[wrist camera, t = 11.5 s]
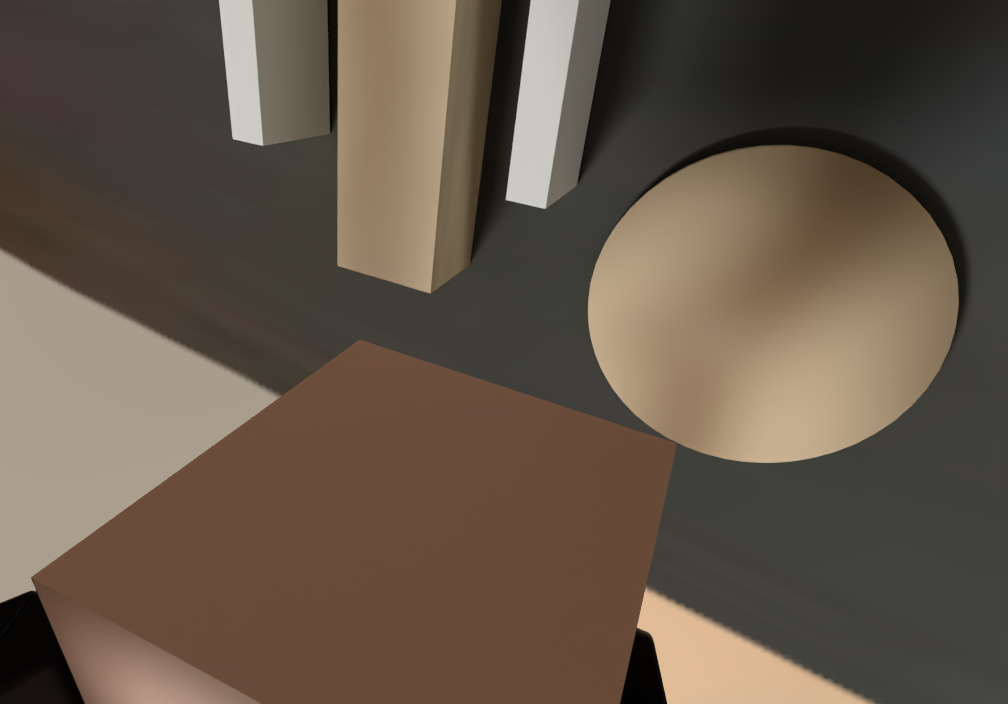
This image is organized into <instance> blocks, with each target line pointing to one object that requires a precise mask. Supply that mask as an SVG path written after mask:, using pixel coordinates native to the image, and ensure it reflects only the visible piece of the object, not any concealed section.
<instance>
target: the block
mask: <svg viewBox="0 0 1008 704" xmlns="http://www.w3.org/2000/svg"><path fill="white" fill-rule="evenodd" d="M676 446H677V444H676V443H673V442H670V441H667V440H664V439H661V438H658V437H655V436H652V435H649V434H645V433H642V432H639V431H636V430H633V429H630V428H627V427H624V426H621V425H618V424H615V423H612V422H609V421H606V420H603V419H600V418H597V417H594V416H591V415H588V414H584V413H581V412H578V411H575V410H572V409H569V408H566V407H563V406H560V405H557V404H554V403H551V402H548V401H545V400H542V399H539V398H536V397H533V396H530V395H527V394H524V393H520V392H517V391H514V390H511V389H508V388H505V387H502V386H499V385H496V384H493V383H490V382H487V381H484V380H481V379H478V378H475V377H472V376H469V375H466V374H463V373H459V372H456V371H453V370H450V369H447V368H444V367H441V366H438V365H435V364H432V363H429V362H426V361H423V360H420V359H417V358H414V357H411V356H408V355H405V354H402V353H399V352H395V351H392V350H389V349H386V348H383V347H380V346H377V345H374V344H371V343H368V342H365V341H362V340H359V341H357V342H356V343H355V344H353V345H352V346H351V347H349V348H348V349H346V350H345V351H344V352H342V353H341V354H339V355H338V356H337V357H335V358H334V359H333V360H331V361H330V362H328V363H327V364H326V365H324V366H323V367H321V368H320V369H319V370H317V371H316V372H315V373H313V374H312V375H310V376H309V377H308V378H306V379H305V380H303V381H302V382H301V383H299V384H298V385H297V386H295V387H294V388H292V389H291V390H290V391H288V392H287V393H286V394H284V395H283V396H281V397H280V398H279V399H277V400H276V401H274V402H273V403H272V404H270V405H269V406H268V407H266V408H265V409H264V410H262V411H261V412H259V413H258V414H257V415H255V416H254V417H252V418H251V419H250V420H248V421H247V422H245V423H244V424H243V425H241V426H240V427H239V428H237V429H236V430H234V431H233V432H232V433H231V434H229V435H227V436H226V437H225V438H223V439H222V440H221V441H219V442H218V443H216V444H215V445H214V446H212V447H211V448H209V449H208V450H207V451H205V452H204V453H203V454H201V455H200V456H198V457H197V458H196V459H194V460H193V461H191V462H190V463H189V464H188V465H186V466H185V467H183V468H182V469H181V470H179V471H178V472H177V473H175V474H173V475H172V476H171V477H169V478H168V479H167V480H165V481H164V482H162V483H161V484H160V485H158V486H157V487H156V488H154V489H153V490H151V491H150V492H149V493H147V494H146V495H144V496H143V497H142V498H140V499H139V500H138V501H136V502H135V503H134V504H132V505H131V506H129V507H128V508H127V509H125V510H124V511H122V512H121V513H120V514H118V515H117V516H115V517H114V518H113V519H112V520H110V521H109V522H107V523H106V524H104V525H103V526H102V527H100V528H99V529H97V530H96V531H95V532H93V533H92V534H91V535H89V536H88V537H86V538H85V539H84V540H82V541H81V542H80V543H78V544H77V545H75V546H74V547H73V548H71V549H70V550H68V551H67V552H66V553H64V554H63V555H61V556H60V557H59V558H57V559H56V560H55V561H53V562H52V563H50V564H49V565H48V566H47V567H45V568H44V569H42V570H41V571H40V572H38V573H37V574H35V575H34V576H32V577H31V579H32V581H33V584H34V586H35V588H36V591H37V593H38V595H39V598H40V600H41V602H42V605H43V607H44V609H45V612H46V614H47V616H48V619H49V621H50V623H51V626H52V628H53V631H54V633H55V635H56V638H57V640H58V642H59V645H60V647H61V649H62V652H63V654H64V656H65V659H66V661H67V663H68V666H69V668H70V670H71V673H72V675H73V677H74V680H75V682H76V684H77V687H78V689H79V691H80V694H81V696H82V698H83V701H84V703H85V704H620V701H621V696H622V692H623V687H624V683H625V678H626V674H627V669H628V664H629V660H630V655H631V651H632V646H633V642H634V637H635V633H636V628H637V623H638V619H639V614H640V610H641V605H642V601H643V596H644V592H645V587H646V583H647V578H648V573H649V569H650V564H651V560H652V555H653V551H654V546H655V542H656V537H657V532H658V528H659V523H660V519H661V514H662V510H663V505H664V501H665V496H666V491H667V487H668V482H669V478H670V473H671V469H672V464H673V460H674V455H675V450H676Z"/></svg>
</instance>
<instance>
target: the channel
mask: <svg viewBox="0 0 1008 704" xmlns="http://www.w3.org/2000/svg"><path fill="white" fill-rule="evenodd" d="M610 1H611V0H531V3H530V11H529V19H528V27H527V35H526V43H525V51H524V59H523V67H522V75H521V83H520V91H519V99H518V107H517V115H516V122H515V130H514V138H513V146H512V154H511V162H510V170H509V178H508V186H507V194H506V200H508V201H513V202H517V203H522V204H526V205H531V206H535V207H540V208H544V209H546V208H547V207H549V206H550V205H551V204H553V203H554V202H555V201H557V200H558V199H559V198H561V197H562V196H563V195H565V194H566V193H567V192H569V191H570V190H571V189H573V188H574V187H575V186H577V182H578V176H579V171H580V165H581V160H582V154H583V149H584V143H585V138H586V133H587V127H588V122H589V116H590V111H591V105H592V100H593V94H594V89H595V83H596V78H597V72H598V67H599V61H600V56H601V50H602V45H603V40H604V34H605V29H606V23H607V18H608V12H609V7H610ZM219 4H220V14H221V25H222V35H223V45H224V55H225V65H226V75H227V85H228V95H229V105H230V115H231V125H232V136H233V139H235V140H239V141H244V142H248V143H253V144H257V145H262V146H265V145H270V144H276V143H281V142H287V141H293V140H298V139H304V138H309V137H315V136H320V135H326V134H330V108H329V60H328V13H327V0H219Z"/></svg>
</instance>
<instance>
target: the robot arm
mask: <svg viewBox="0 0 1008 704" xmlns="http://www.w3.org/2000/svg"><path fill="white" fill-rule="evenodd" d="M0 704H85V703H84V701H83V698H82V696H81V694H80V691H79V689H78V687H77V684H76V682H75V680H74V677H73V675H72V673H71V670H70V668H69V666H68V663H67V661H66V659H65V656H64V654H63V652H62V649H61V647H60V645H59V642H58V640H57V638H56V635H55V633H54V631H53V628H52V626H51V623H50V621H49V619H48V616H47V614H46V612H45V609H44V607H43V605H42V602H41V600H40V598H39V595H38V593H37V591H29V592H26V593H24V594H21V595H19V596H16V597H14V598H12V599H9V600H7V601H4V602H2V603H0ZM620 704H667V701H666V696H665V692H664V687H663V682H662V678H661V673H660V669H659V664H658V659H657V655H656V650H655V645H654V642H653V638H652V636H651V635H650V634H649V633H648V632H646V631H643V630H640V629H639V628H636V633H635V637H634V642H633V646H632V651H631V655H630V660H629V664H628V669H627V674H626V678H625V683H624V687H623V692H622V696H621V701H620Z"/></svg>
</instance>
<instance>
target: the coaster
mask: <svg viewBox="0 0 1008 704" xmlns="http://www.w3.org/2000/svg"><path fill="white" fill-rule="evenodd" d="M958 307H959V297H958V280H957V275H956V271H955V267H954V262H953V258H952V255H951V253H950V251H949V248H948V246H947V243H946V241H945V239H944V236H943V234H942V233H941V231H940V230H939V228H938V227H937V225H936V224H935V222H934V220H933V219H932V217H931V216H930V214H929V213H928V212H927V211H926V210H925V209H924V208H923V207H922V205H921V204H920V203H919V202H918V201H917V200H916V199H915V198H914V197H913V196H912V195H911V194H910V193H909V192H908V191H906V190H905V189H904V188H902V187H901V186H900V185H899V184H897V183H896V182H895V181H894V180H892V179H891V178H890V177H889V176H887V175H885V174H884V173H882V172H880V171H878V170H877V169H875V168H873V167H871V166H870V165H868V164H866V163H864V162H861V161H859V160H856V159H853V158H851V157H848V156H846V155H843V154H841V153H836V152H832V151H828V150H824V149H820V148H816V147H807V146H798V145H789V144H788V145H759V146H752V147H745V148H738V149H734V150H730V151H726V152H723V153H719V154H715V155H712V156H709V157H707V158H704V159H702V160H699V161H697V162H694V163H692V164H690V165H687V166H686V167H684V168H682V169H680V170H678V171H677V172H675V173H673V174H671V175H670V176H668V177H666V178H665V179H663V180H662V181H661V182H659V183H658V184H657V185H655V186H654V187H653V188H651V189H650V190H649V191H647V192H646V193H645V194H644V195H643V196H642V197H641V198H640V199H639V200H638V201H637V202H636V203H635V204H634V205H633V206H632V207H631V208H630V209H629V210H628V212H627V213H626V214H625V215H624V217H623V218H622V219H621V220H620V222H619V223H618V224H617V225H616V227H615V228H614V230H613V231H612V233H611V235H610V236H609V238H608V240H607V241H606V243H605V245H604V247H603V249H602V251H601V254H600V256H599V258H598V260H597V263H596V266H595V269H594V273H593V276H592V280H591V285H590V292H589V299H588V322H589V329H590V337H591V341H592V344H593V348H594V351H595V355H596V357H597V360H598V362H599V364H600V367H601V369H602V371H603V373H604V375H605V377H606V378H607V380H608V382H609V383H610V385H611V387H612V388H613V390H614V391H615V392H616V393H617V395H618V396H619V397H620V399H621V400H622V401H623V402H624V403H625V404H626V405H627V407H628V408H629V409H630V410H631V411H632V412H633V413H634V414H635V415H636V416H638V417H639V418H640V419H641V420H643V421H644V422H645V423H646V424H648V425H649V426H650V427H651V428H653V429H655V430H656V431H658V432H659V433H661V434H662V435H664V436H666V437H667V438H669V439H671V440H673V441H675V442H677V443H679V444H681V445H683V446H685V447H688V448H691V449H693V450H696V451H699V452H702V453H704V454H708V455H712V456H716V457H720V458H724V459H730V460H737V461H743V462H760V463H773V462H790V461H796V460H803V459H810V458H814V457H818V456H821V455H825V454H829V453H833V452H835V451H838V450H841V449H843V448H846V447H849V446H851V445H854V444H856V443H858V442H860V441H862V440H864V439H866V438H868V437H870V436H872V435H874V434H875V433H877V432H878V431H880V430H881V429H883V428H884V427H886V426H887V425H889V424H890V423H892V422H893V421H895V420H896V419H897V418H898V417H899V416H900V415H901V414H903V413H904V412H905V411H906V410H907V409H908V408H910V407H911V406H912V405H913V404H914V402H915V401H916V400H917V399H918V398H919V397H920V396H921V395H922V394H923V392H924V391H925V390H926V389H927V388H928V386H929V385H930V383H931V382H932V380H933V379H934V377H935V376H936V374H937V373H938V371H939V370H940V368H941V366H942V364H943V361H944V359H945V357H946V355H947V353H948V351H949V349H950V346H951V342H952V339H953V335H954V332H955V329H956V323H957V315H958Z"/></svg>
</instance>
